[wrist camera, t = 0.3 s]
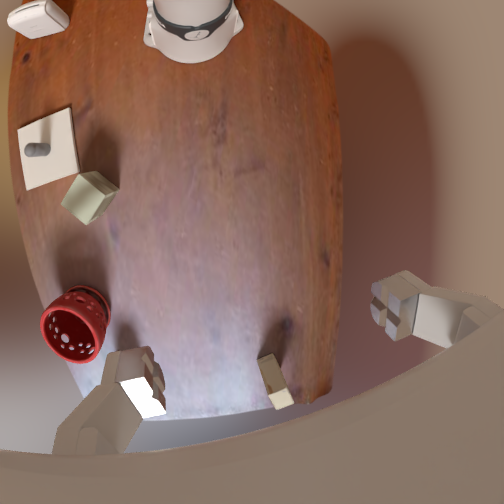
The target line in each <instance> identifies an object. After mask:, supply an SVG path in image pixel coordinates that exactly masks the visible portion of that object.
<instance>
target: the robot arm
mask: <svg viewBox="0 0 504 504" xmlns="http://www.w3.org/2000/svg"><path fill="white" fill-rule="evenodd" d="M147 7H149V8H148V13H147V20H146V26H145V32H144V43H145V44H146V45H148V46H150V47H154V48H157V49H158V50H160V51H161V52H162V53H163V54H164V55H165V56H167V57H168V58H170V59H172V60H175V61H178V62H182V63H198V62H203V61H206V60H209V59H211V58H213V57H215V56H216V55H218V54H219V53H220V52H222V51H223V50H224V49H225V47H226V46H227V45H228V43H229V41H230V39H231V38H232V37H233V36H234V35H236V34H237V33H239V32H240V31H241V30H242V29H243V22H242V19H241V17H240V15H239V13H238V10H237V9H236V6H235V4H234V2H233V0H147ZM150 33H151V35H149V34H150ZM371 292H372V294H373V295H374V298H373V300H372V301H371V313H372V316H373V318H374V320H375V321H376V322H377V323H378V325H381V326H385V332H386V333H387V334H388V335H389V336H390V337H391V338H392V339H393V340H394V341H397V340H400V339H402V338H404V337H406V336H409V335H411V334H413V335H415V336H417V337H420V338H422V339H425V340H427V341H430V342H432V343H435V344H437V345H440V346H442V347H445V348H447V349H445V350H444V351H442V352H440V353H439V354H437V355H435V356H434V357H432V358H430V359H429V360H427V361H425V362H423V363H422V364H420V365H418V366H416V367H414V368H412V369H410V370H409V371H407V372H405V373H403V374H401V375H399V376H397V377H395V378H393V379H391V380H389V381H387V382H385V383H383V384H381V385H379V386H376V387H374V388H372V389H370V390H368V391H366V392H363V393H361V394H359V395H357V396H354V397H352V398H349V399H347V400H345V401H342V402H340V403H337V404H335V405H332V406H330V407H327V408H325V409H322V410H319V411H316V412H314V413H311V414H308V415H305V416H302V417H299V418H297V419H293V420H290V421H287V422H284V423H281V424H277V425H274V426H271V427H267V428H264V429H260V430H257V431H253V432H249V433H245V434H241V435H237V436H233V437H229V438H225V439H220V440H215V441H211V442H206V443H200V444H195V445H189V446H184V447H177V448H170V449H163V450H155V451H146V452H136V453H125V454H124V451H125V449H126V447H127V446H128V444H129V442H130V440H131V439H132V437H133V435H134V434H135V432H136V430H137V429H138V427H139V425H140V423H141V422H142V420H143V417H149V416H154V415H159V414H165V413H166V403H165V397H164V395H163V394H162V393H163V391H164V390H165V381H164V376H163V373H162V370H161V368H160V366H159V364H158V363H156V362H155V361H154V353H153V352H152V350H151V348H150V347H149V346H144V347H138V348H133V349H127V350H122V351H116V352H111V353H109V354H108V355H107V358H106V362H105V366H104V371H103V375H102V380H101V385H98V386H96V387H95V388H94V389H93V390H92V391H91V392H90V393H89V394H88V396H87V397H86V398H85V399H84V400H83V401H82V402H81V403H80V404H79V405H78V406H77V407H76V408H75V410H74V411H73V412H72V413H71V414H70V415H69V416H68V417H67V418H66V419H65V421H64V422H62V424H61V425H60V426H59V427H58V428H57V433H56V438H55V441H54V446H53V451H52V454H38V453H27V452H18V451H10V450H2V449H0V504H504V309H503V308H501V307H500V306H498V305H497V304H495V303H494V302H493V301H491V300H490V299H488V298H487V297H486V296H481V295H476V294H471V293H466V292H461V291H455V290H450V289H445V288H440V287H430V286H429V285H428V284H426V283H425V282H423V281H422V280H420V279H419V278H418V277H416V276H415V275H413V274H412V273H410V272H409V271H405V270H404V271H402V272H399V273H397V274H394V275H393V276H390V277H387V278H385V279H382V280H379V281H376V282H373V285H372V291H371Z"/></svg>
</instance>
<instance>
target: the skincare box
mask: <svg viewBox="0 0 504 504" xmlns="http://www.w3.org/2000/svg"><path fill="white" fill-rule="evenodd" d="M257 362H258V365H259V368H260V372H261V375H262V378H263V381H264V384H265V387H266V390H267V393H268V396H269V399H270V400H271V402H272V404H273V405H274V407H275V408H276V410H278V409H280V408H283V407H286V406H289V405H291V404H294V401H293V398H292V396H291V394H290V391H289V389H288V386H287V384H286V381H285V379H284V376H283V374H282V371H281V369H280V366H279V364H278V362H277V360H276V358H275V356H274V354H273V353H272V354H270V355H267V356H264V357H262V358H260V359H257Z"/></svg>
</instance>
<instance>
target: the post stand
mask: <svg viewBox="0 0 504 504" xmlns="http://www.w3.org/2000/svg"><path fill="white" fill-rule="evenodd" d="M18 138H19V146H20V154H21V161H22V167H23V173H24V179H25V184H26V189H27V190H30V189H32V188H35V187H38V186H40V185H43V184H46V183H49V182H51V181H54V180H57V179H60V178H63V177H66V176H69V175H72V174H75V173H78V172H80V168H79V163H78V157H77V151H76V145H75V138H74V131H73V123H72V114H71V108H67V109H64V110H62V111H59V112H57V113H54V114H52V115H49V116H47V117H45V118H42V119H40V120H38V121H36V122H34V123H31V124H29V125H27V126H25V127H23V128H21V129H19V130H18Z"/></svg>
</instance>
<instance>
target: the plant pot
mask: <svg viewBox="0 0 504 504" xmlns="http://www.w3.org/2000/svg"><path fill="white" fill-rule="evenodd" d="M50 312H51V315H50V316H49V313H50ZM48 316H49V317H48ZM53 317H55V321H54V322H53ZM110 317H111V313H110V308H109V306H108V303H107V302H106V300H105V298H104V297H103V296H102V295H101V294H100V293H99V292H98V291H96V290H95V289H93V288H91V287H88V286H84V285H78V286H74V287H72V288H70V289H69V290H67V292H66V293H65V294H63V295H62V296H60V297H58V298H57V299H56V300H54V301H53V302H52V303H51V304H50V305H49V306H48V307H47V308H46V310H45V311H44V312H43V314H42V316H41V320H40V328H41V332H42V335H43V338H44V340H45V341H46V343H47V344H48V346H49V347H50V348H51V349H52V350H53V351H54V352H55V353H56V354H57V355H58V356H60V357H61V358H63V359H65V360H67V361H69V362H73V363H79V364H82V363H88V362H90V361H92V360H93V359H94V358H95V357H96V356H97V354H98V353H99V351H100V349H101V347H102V344H103V342H104V339H105V334H106V328H107V326H108V325H109V322H110ZM49 324H51V330H50V328H49ZM55 327H56V328H57V329H58V333H56V331H55ZM62 334H65V335H66V336H67V337H68V338H69V342H68V343H65V342H63V341H62V339H61V335H62ZM54 335H55V336H56V339H55V338H54ZM79 344H83V345H82V346H79ZM61 345H62V346H64V348H62V347H61ZM88 345H91V346H90V347H89V348H86V347H87V346H88ZM69 347H73V348H74V350H70V349H69ZM93 349H94V351H93V352H92V353H91V354H89V352H90V351H91V350H93ZM82 351H84V353H80V352H82Z"/></svg>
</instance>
